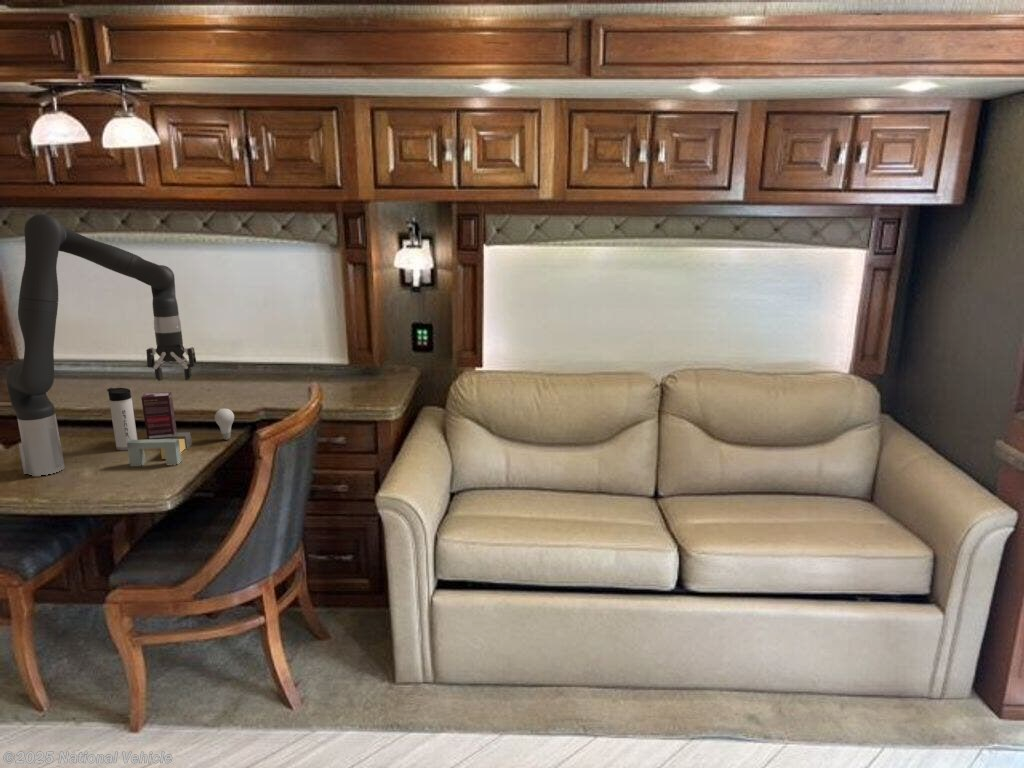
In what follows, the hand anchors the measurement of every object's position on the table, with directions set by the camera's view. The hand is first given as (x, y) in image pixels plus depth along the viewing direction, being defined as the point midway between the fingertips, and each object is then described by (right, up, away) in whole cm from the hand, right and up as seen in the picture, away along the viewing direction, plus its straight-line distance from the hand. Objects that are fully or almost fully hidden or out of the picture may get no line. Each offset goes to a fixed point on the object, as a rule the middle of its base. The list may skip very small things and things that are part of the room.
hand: (174, 379), depth 217 cm
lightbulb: (+11, -20, +13) cm, 27 cm away
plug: (0, -23, +1) cm, 23 cm away
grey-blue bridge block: (-1, -26, -9) cm, 27 cm away
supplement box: (-11, -20, +14) cm, 27 cm away
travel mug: (-18, -22, +6) cm, 29 cm away
